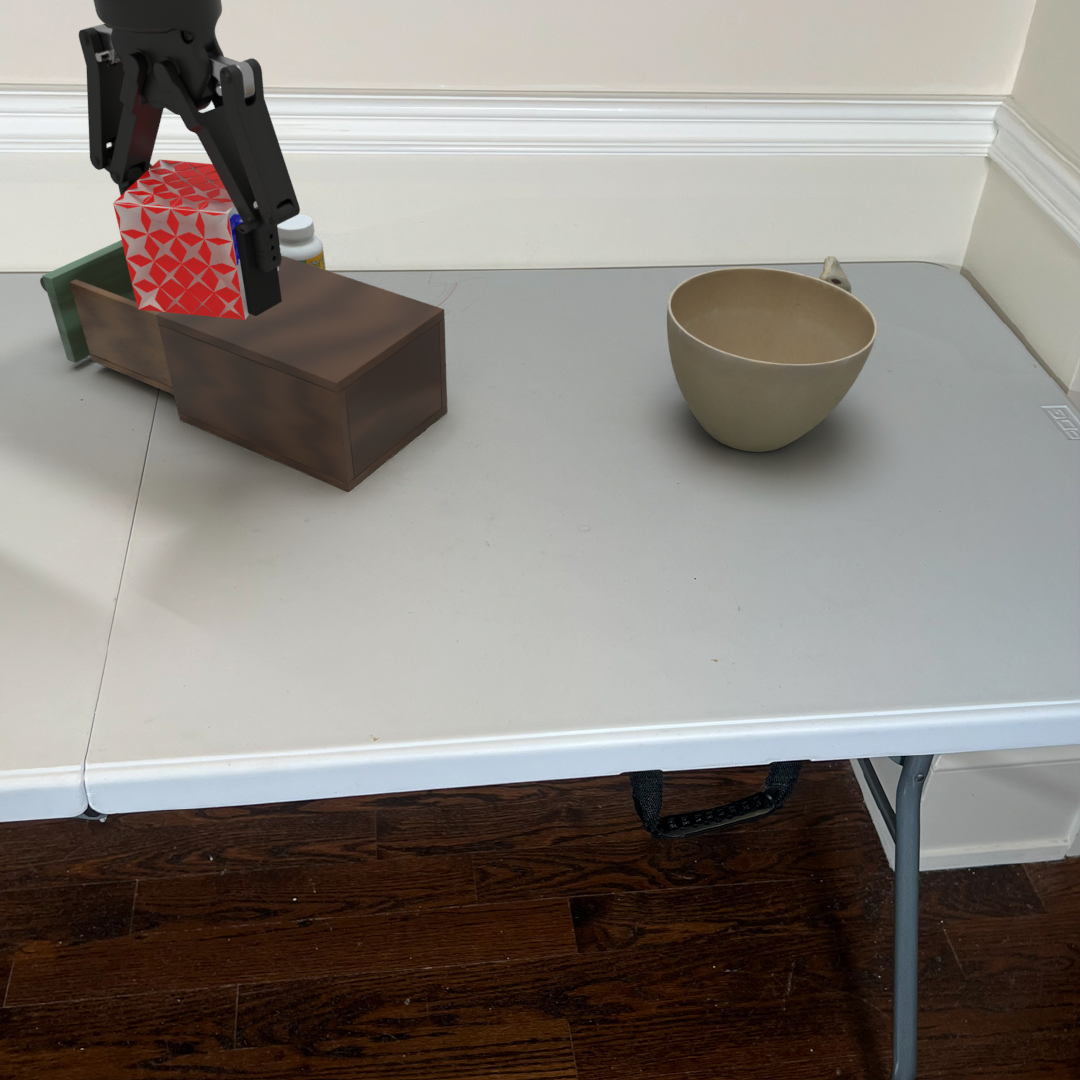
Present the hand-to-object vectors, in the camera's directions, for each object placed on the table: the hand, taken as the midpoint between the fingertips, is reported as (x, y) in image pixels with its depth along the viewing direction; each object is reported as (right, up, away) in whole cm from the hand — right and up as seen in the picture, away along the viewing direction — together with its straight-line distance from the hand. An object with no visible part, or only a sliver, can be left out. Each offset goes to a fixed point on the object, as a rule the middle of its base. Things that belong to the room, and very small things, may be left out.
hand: (210, 286), depth 77 cm
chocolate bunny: (+54, +2, +34) cm, 64 cm away
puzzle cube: (0, 0, 0) cm, 0 cm away
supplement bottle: (-1, +7, +36) cm, 37 cm away
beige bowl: (+44, -8, +21) cm, 50 cm away
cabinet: (+3, -7, +20) cm, 22 cm away
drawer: (-12, 0, +26) cm, 29 cm away
